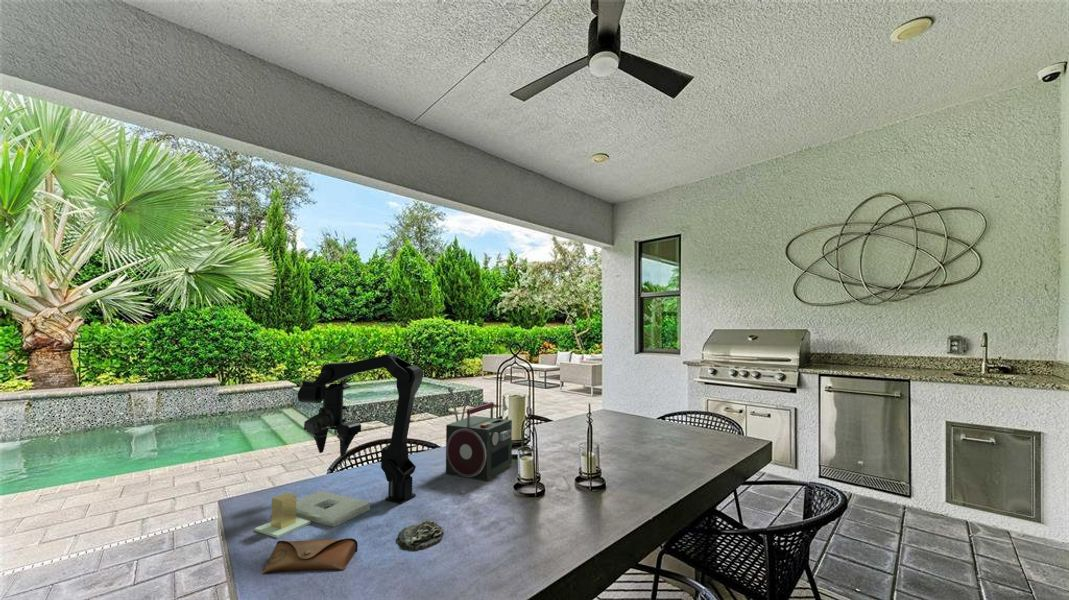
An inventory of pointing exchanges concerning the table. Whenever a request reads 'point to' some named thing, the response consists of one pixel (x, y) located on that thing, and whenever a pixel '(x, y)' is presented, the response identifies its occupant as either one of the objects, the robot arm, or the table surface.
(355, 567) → the table surface
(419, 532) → the mossy grey rock
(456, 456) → the boombox
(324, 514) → the aluminium plate
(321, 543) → the sunglasses case
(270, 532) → the sage mat
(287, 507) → the brass peg
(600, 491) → the table surface
